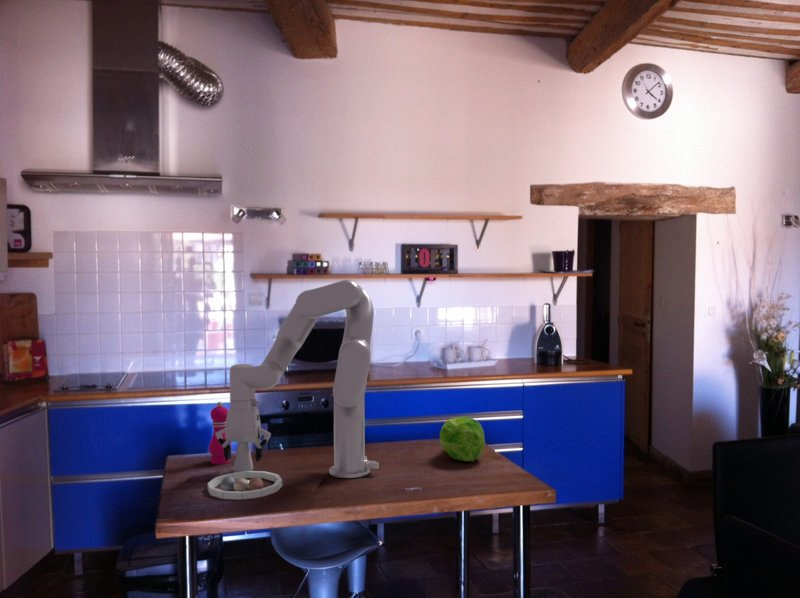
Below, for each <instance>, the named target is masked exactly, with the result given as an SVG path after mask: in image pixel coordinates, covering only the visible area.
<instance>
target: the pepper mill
mask: <svg viewBox="0 0 800 598" xmlns="http://www.w3.org/2000/svg"><path fill="white" fill-rule="evenodd" d="M228 409H229V408H228V407H226V406H223V402H221V401H218V402H217V403H216V406H215V407H213V408H212V409H211V410H210V411H211V412H210V419H211V420H212V422H211V425H212V427H213V435H212V437H211V440H210V442H209V445H208V446H209V447H208V452H209V453H210V455H211V456H210V463H211V464H213V465H224V464H228V463H230V462H231V458H230V459H229V460H228V461H225V457H224V448H223V447H222V445H221V444H220V443H219V441H218V439H217V437H216V435H215V433H216V432H218V431H220V430H222V429H224V428H226V419H227V413H228ZM222 437H223V438H224V439H225V440H226V436H225V433H223V434H222ZM230 445H231V446H232V442H231V443H230ZM231 450H233V449H232V447H231Z"/></svg>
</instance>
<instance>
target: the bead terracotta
mask: <svg viewBox="0 0 800 598" xmlns="http://www.w3.org/2000/svg"><path fill="white" fill-rule="evenodd" d="M262 479H263V478H258V477H254V478H250V479H249V480H250V482H249V489H248V490H249V491H251V490H258V489H262V488H264V481H263V480H262Z"/></svg>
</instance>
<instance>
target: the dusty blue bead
mask: <svg viewBox="0 0 800 598" xmlns="http://www.w3.org/2000/svg"><path fill="white" fill-rule="evenodd" d="M234 482H235V480H234V478H232V477H230V476H227V477H225V478H223V480H222V481H221V484H220V487H221V490H224V491H233V490H235V489H234Z"/></svg>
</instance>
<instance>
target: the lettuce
mask: <svg viewBox="0 0 800 598" xmlns="http://www.w3.org/2000/svg"><path fill="white" fill-rule="evenodd" d="M485 438H486V437H485V431H484V429H483V426H482V424H481V423H480V422H479V421H477V420H476V419H475V418H472V417H468V416H461V417H459V416H458V417H454V418H450V419H447V420H446V421H445V422H444V424H443V425H442V426H441V429H440V431H439V443H440V445H441V447H442V449H443V450H444V451H445V453H446V454H447V455H449V456H450V458H452V460H453V459H454V460H457V461H460V462H475V460H476V459H477V458H478V457H479V456H480V455H481V454H482V452H483V451H484V449H485V445H486V439H485Z"/></svg>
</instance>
